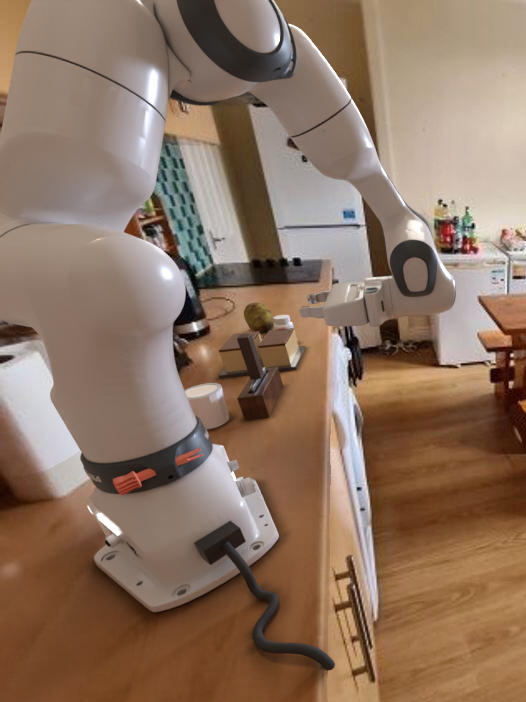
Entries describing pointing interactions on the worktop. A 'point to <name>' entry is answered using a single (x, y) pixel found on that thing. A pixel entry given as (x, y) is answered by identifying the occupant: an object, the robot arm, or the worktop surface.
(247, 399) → the knife block
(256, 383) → the knife
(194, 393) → the white cylinder
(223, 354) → the cake
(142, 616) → the worktop surface
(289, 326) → the pill bottle
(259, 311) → the kiwi fruit
